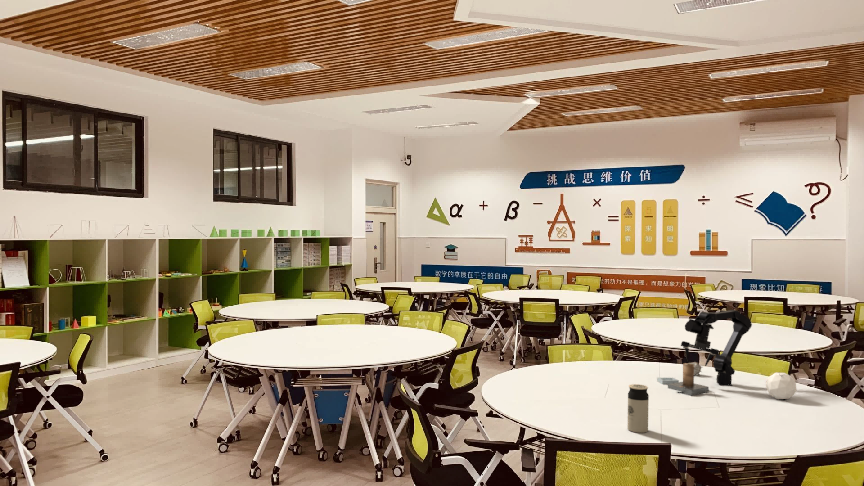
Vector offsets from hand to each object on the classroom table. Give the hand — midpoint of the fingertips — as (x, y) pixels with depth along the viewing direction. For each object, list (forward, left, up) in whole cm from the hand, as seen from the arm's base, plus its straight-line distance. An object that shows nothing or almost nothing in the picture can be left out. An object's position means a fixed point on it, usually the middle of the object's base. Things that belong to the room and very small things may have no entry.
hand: (696, 363), depth 335 cm
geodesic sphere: (-35, +20, -12) cm, 42 cm away
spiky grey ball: (-7, -30, -12) cm, 34 cm away
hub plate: (+7, +12, -12) cm, 19 cm away
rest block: (+14, -2, -12) cm, 19 cm away
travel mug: (+45, +87, -12) cm, 98 cm away
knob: (+7, +12, -11) cm, 18 cm away
